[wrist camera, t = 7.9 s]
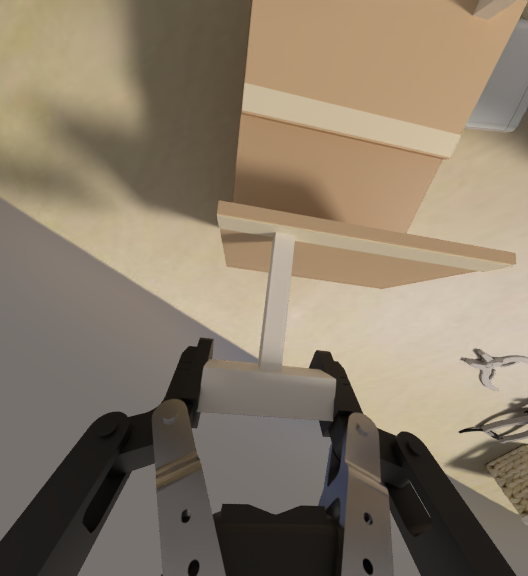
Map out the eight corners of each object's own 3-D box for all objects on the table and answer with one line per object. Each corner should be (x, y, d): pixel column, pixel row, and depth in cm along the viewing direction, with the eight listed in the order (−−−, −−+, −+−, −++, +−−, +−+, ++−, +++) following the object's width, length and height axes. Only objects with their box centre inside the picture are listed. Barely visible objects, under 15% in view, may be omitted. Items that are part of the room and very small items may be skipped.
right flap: (515, 253, 12) (525, 438, 10) (381, 283, 22) (378, 376, 21) (218, 200, 10) (184, 416, 8) (227, 260, 20) (212, 360, 19)
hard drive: (409, 121, 23) (516, 131, 24) (446, 5, 19) (573, 22, 20) (400, 123, 24) (501, 133, 25) (432, 17, 20) (552, 32, 21)
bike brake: (547, 396, 49) (452, 421, 58) (581, 430, 43) (470, 452, 53) (563, 416, 54) (473, 436, 63) (595, 449, 48) (492, 465, 58)
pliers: (499, 395, 47) (455, 375, 43) (492, 388, 49) (449, 368, 45) (545, 367, 43) (501, 342, 39) (536, 361, 45) (492, 336, 41)
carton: (432, 34, 21) (1233, -577, 4) (349, 250, 31) (461, 349, 14) (262, -17, 19) (325, -1682, 2) (235, 232, 29) (207, 319, 12)
